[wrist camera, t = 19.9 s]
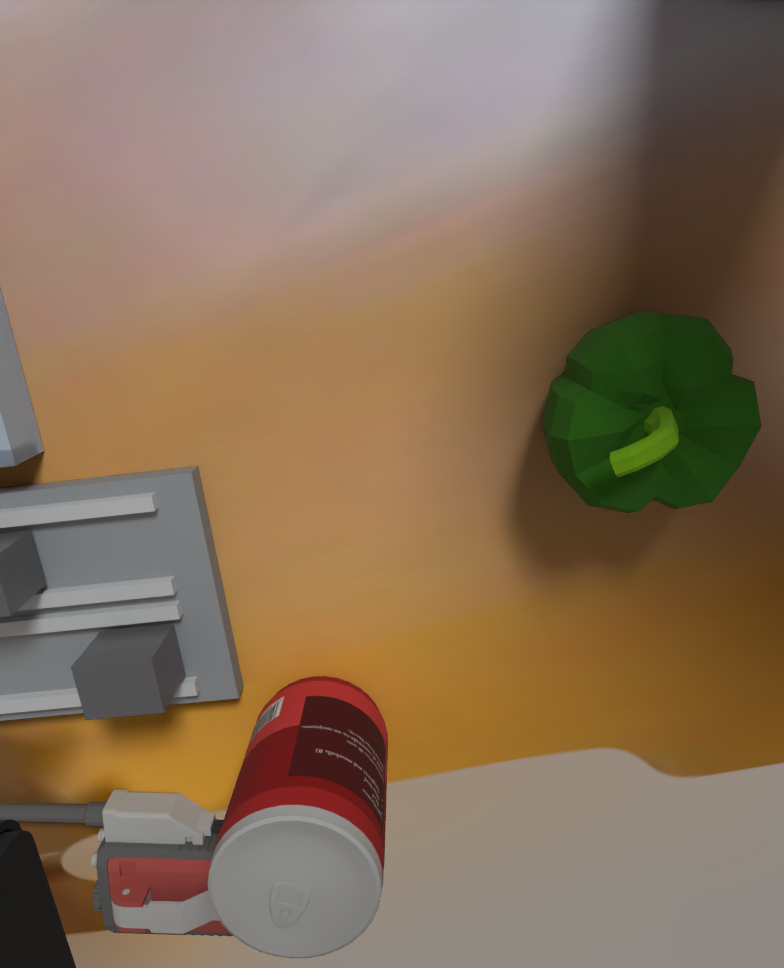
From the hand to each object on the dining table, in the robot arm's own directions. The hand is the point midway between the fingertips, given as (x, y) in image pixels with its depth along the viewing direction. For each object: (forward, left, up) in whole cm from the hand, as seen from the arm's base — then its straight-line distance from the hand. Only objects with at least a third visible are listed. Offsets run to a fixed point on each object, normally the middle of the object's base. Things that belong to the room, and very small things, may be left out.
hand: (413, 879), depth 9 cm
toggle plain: (+11, -16, -27) cm, 33 cm away
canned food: (+18, -7, -28) cm, 34 cm away
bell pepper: (0, +10, -28) cm, 30 cm away
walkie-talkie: (+25, -18, -29) cm, 43 cm away
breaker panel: (+8, -19, -28) cm, 35 cm away
